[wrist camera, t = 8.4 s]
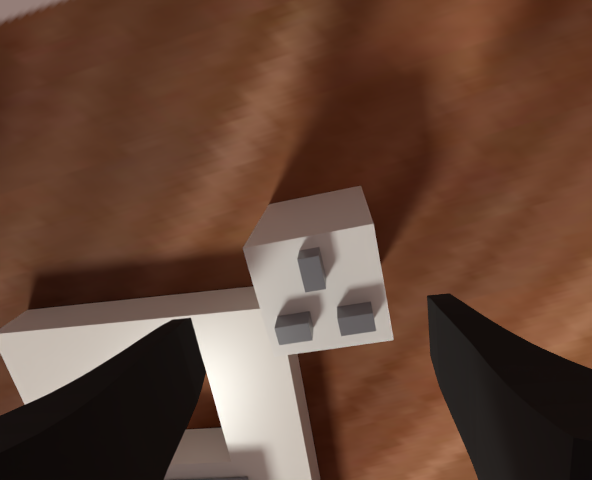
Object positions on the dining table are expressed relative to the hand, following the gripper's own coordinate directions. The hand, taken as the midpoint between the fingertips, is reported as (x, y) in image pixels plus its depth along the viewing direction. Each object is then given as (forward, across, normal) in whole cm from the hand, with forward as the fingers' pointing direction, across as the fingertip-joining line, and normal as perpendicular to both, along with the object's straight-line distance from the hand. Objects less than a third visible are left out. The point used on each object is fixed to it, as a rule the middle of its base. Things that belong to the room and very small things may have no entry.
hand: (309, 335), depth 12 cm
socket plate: (+8, +10, +12) cm, 17 cm away
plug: (+8, 0, 0) cm, 8 cm away
